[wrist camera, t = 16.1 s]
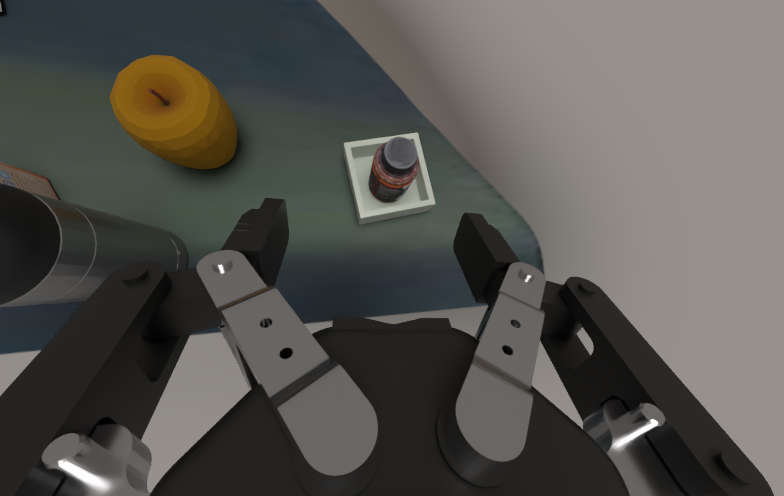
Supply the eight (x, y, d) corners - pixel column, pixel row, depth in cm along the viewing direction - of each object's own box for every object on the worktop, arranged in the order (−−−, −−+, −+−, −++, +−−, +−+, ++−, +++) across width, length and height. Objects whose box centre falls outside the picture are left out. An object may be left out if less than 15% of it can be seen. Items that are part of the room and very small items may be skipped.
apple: (159, 123, 40) (71, 49, 27) (236, 103, 42) (187, 26, 29) (185, 193, 39) (108, 151, 27) (262, 169, 41) (224, 119, 29)
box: (359, 224, 42) (360, 218, 38) (344, 157, 43) (343, 143, 39) (426, 211, 44) (435, 203, 40) (410, 147, 45) (417, 132, 41)
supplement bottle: (409, 200, 43) (431, 173, 32) (372, 206, 42) (381, 181, 31) (401, 164, 44) (419, 125, 33) (364, 169, 43) (370, 131, 32)
